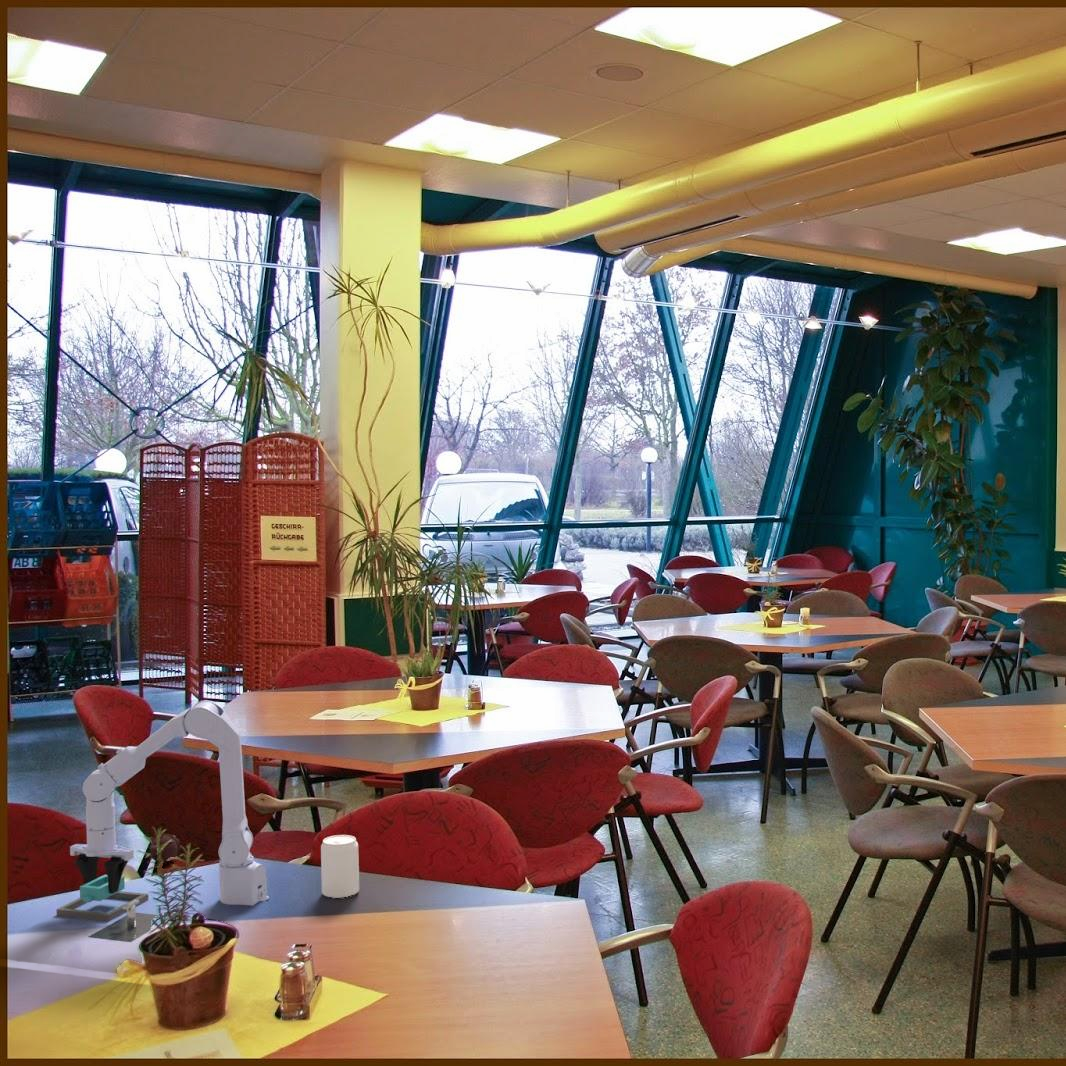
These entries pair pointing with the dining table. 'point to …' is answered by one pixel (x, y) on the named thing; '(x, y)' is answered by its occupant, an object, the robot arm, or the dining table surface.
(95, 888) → the teal open-top box
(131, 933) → the stand
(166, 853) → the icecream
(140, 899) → the tray
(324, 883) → the beverage can
